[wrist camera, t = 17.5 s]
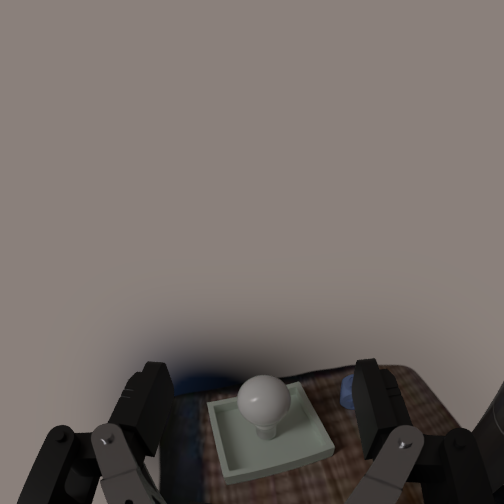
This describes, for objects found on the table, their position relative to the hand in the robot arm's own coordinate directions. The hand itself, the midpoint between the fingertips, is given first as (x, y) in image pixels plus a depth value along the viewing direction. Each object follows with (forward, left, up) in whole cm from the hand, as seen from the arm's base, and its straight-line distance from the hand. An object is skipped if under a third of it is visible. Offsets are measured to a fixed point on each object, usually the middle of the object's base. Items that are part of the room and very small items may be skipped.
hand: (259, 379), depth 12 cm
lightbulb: (-3, -15, -28) cm, 31 cm away
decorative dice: (-17, -16, -28) cm, 37 cm away
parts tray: (-3, -15, -28) cm, 32 cm away
